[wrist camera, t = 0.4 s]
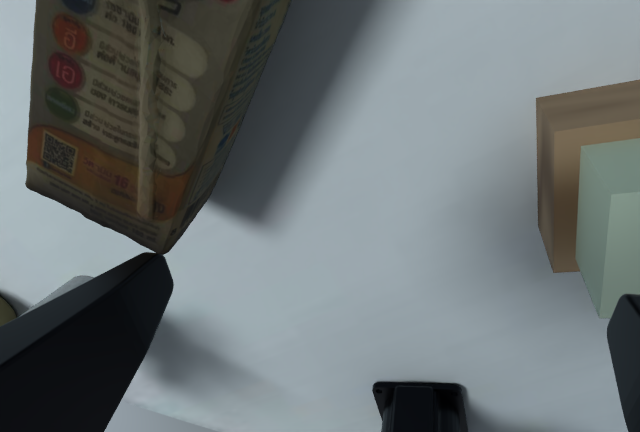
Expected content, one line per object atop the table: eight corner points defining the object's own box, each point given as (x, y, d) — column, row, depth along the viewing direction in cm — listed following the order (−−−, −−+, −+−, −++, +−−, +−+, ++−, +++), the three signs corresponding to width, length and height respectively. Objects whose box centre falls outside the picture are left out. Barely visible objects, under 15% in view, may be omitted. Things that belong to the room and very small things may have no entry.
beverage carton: (373, -166, 15) (340, -206, 10) (214, 201, 27) (160, 272, 22) (173, -301, 15) (25, -420, 9) (97, 137, 26) (11, 194, 21)
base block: (699, 208, 20) (747, 261, 17) (537, 222, 23) (553, 272, 20) (730, 60, 17) (798, 94, 14) (534, 95, 19) (554, 131, 16)
